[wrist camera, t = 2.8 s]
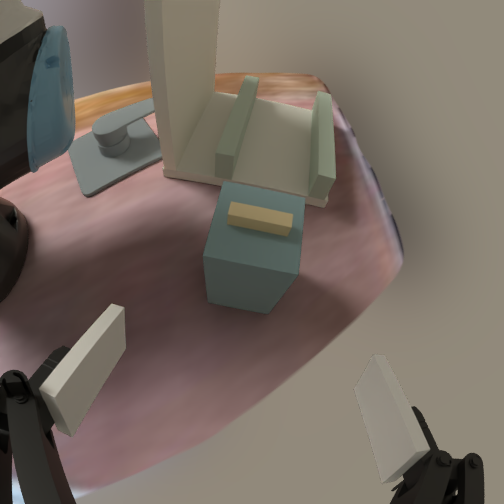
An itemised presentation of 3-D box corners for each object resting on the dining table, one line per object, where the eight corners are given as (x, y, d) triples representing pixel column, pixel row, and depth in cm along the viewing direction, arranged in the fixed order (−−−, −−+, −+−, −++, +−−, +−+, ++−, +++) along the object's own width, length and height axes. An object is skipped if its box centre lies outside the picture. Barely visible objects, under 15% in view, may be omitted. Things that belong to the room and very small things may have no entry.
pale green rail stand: (163, 176, 33) (140, -14, 12) (203, 97, 41) (210, -35, 20) (324, 208, 34) (415, 34, 12) (324, 121, 41) (370, -5, 20)
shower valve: (184, 119, 31) (70, 174, 26) (186, 150, 36) (86, 201, 31) (148, 81, 34) (56, 123, 29) (152, 108, 39) (68, 149, 34)
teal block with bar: (207, 302, 27) (201, 246, 16) (220, 248, 30) (224, 169, 19) (268, 314, 27) (303, 267, 16) (276, 259, 30) (309, 188, 19)
